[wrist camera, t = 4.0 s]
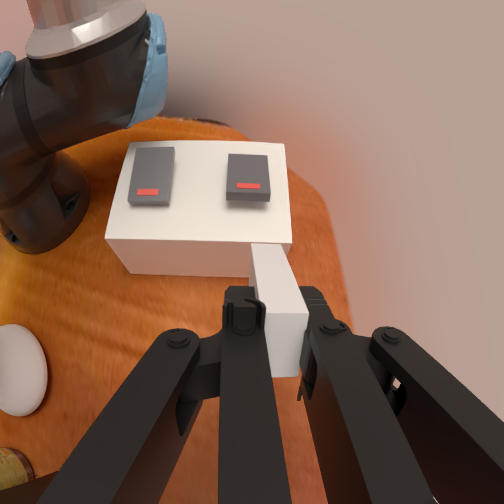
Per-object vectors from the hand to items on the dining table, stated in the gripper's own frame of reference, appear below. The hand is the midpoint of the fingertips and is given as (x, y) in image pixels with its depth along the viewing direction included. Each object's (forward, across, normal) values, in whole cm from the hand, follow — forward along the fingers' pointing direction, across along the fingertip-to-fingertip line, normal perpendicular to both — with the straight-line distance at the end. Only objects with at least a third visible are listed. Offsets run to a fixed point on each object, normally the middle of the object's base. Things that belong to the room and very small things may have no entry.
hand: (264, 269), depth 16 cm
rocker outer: (+14, 0, +3) cm, 15 cm away
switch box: (+22, -5, -4) cm, 23 cm away
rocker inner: (+14, -9, +3) cm, 17 cm away
